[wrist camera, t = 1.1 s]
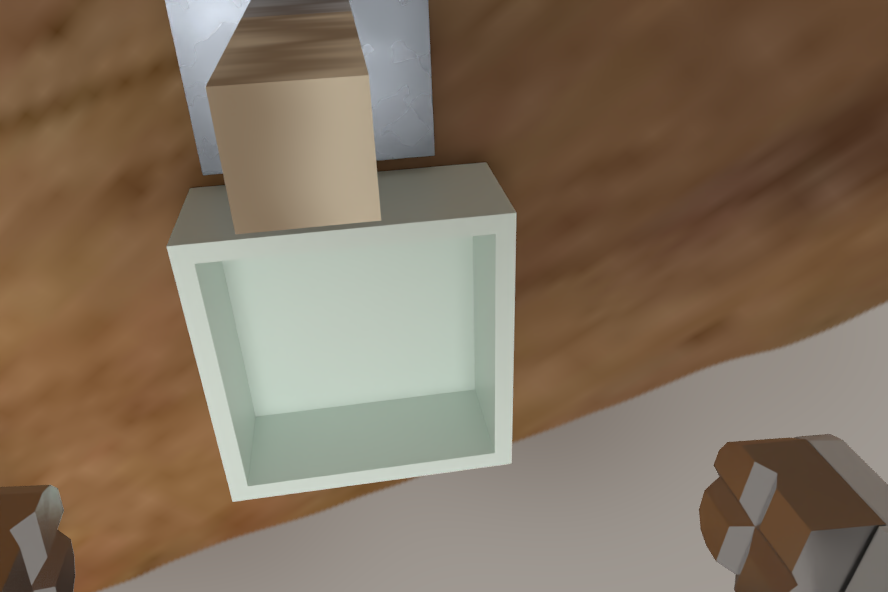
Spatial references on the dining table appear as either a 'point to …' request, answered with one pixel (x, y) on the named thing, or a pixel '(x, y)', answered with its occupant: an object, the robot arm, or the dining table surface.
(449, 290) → the bin
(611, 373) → the dining table surface
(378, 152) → the stud plate
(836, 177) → the dining table surface
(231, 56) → the strut
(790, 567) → the robot arm
